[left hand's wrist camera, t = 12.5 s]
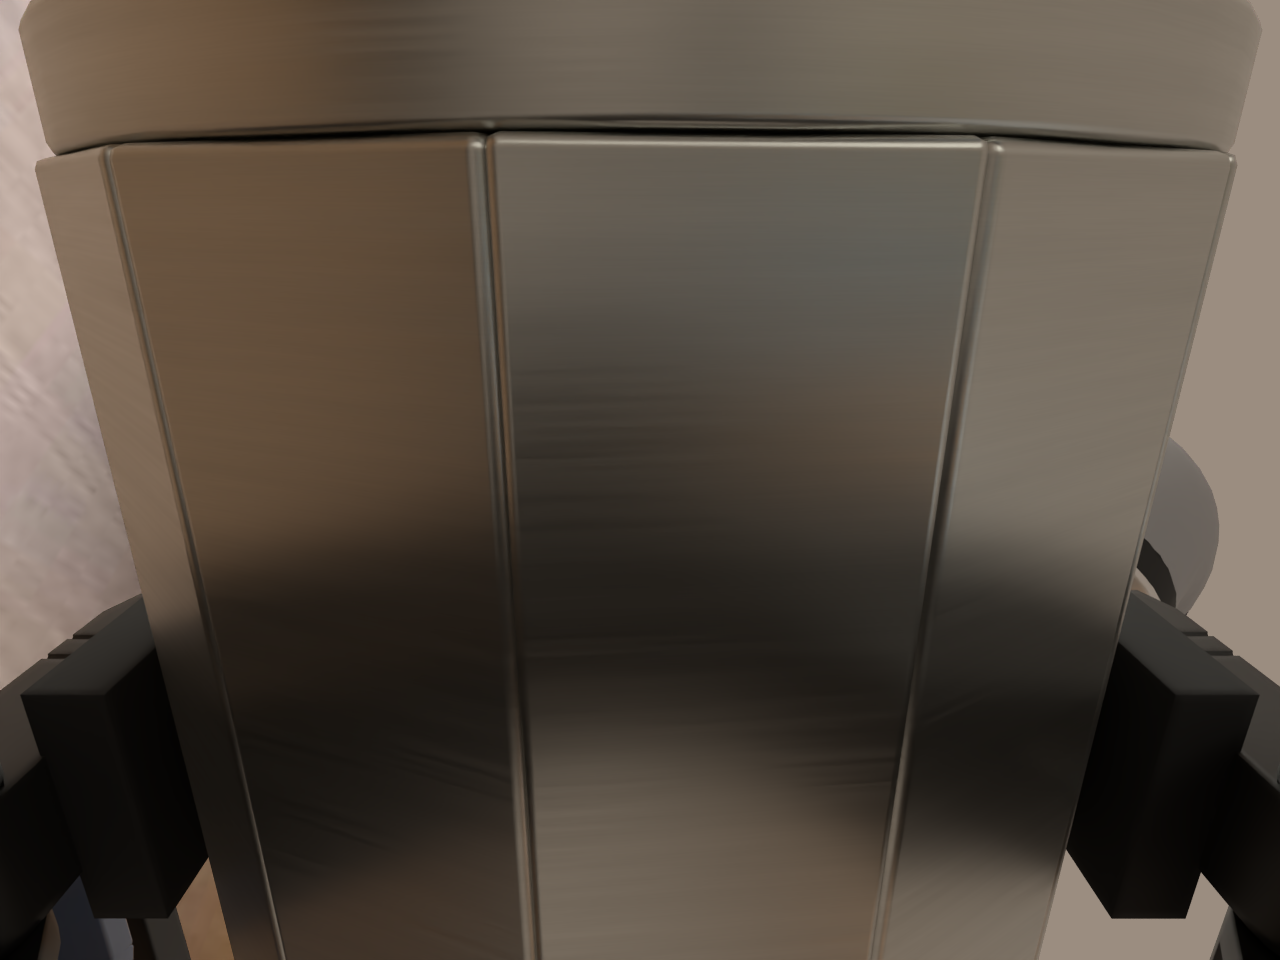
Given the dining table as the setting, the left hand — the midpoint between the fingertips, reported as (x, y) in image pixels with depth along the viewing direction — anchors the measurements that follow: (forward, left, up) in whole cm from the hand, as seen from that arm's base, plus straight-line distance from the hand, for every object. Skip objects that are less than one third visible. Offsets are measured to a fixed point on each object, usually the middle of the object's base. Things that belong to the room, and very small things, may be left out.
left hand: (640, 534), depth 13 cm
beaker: (-7, -3, +1) cm, 8 cm away
